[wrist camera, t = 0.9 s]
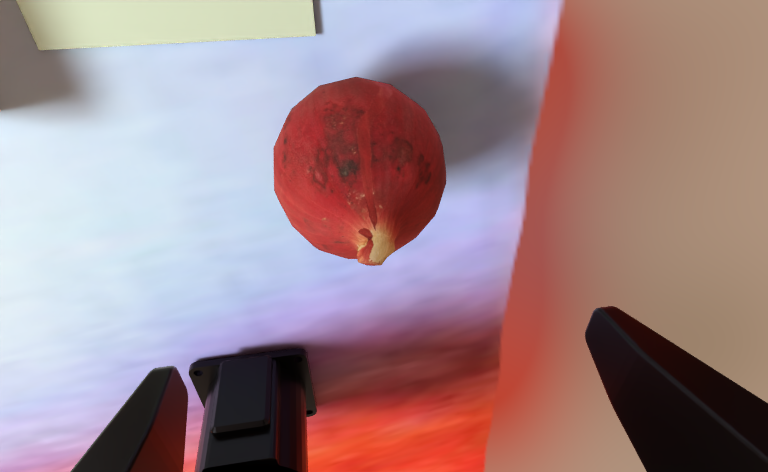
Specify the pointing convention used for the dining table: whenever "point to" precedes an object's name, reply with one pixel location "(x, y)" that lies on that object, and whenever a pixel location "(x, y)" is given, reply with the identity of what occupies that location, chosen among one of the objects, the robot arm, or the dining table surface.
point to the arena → (162, 21)
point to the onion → (359, 169)
